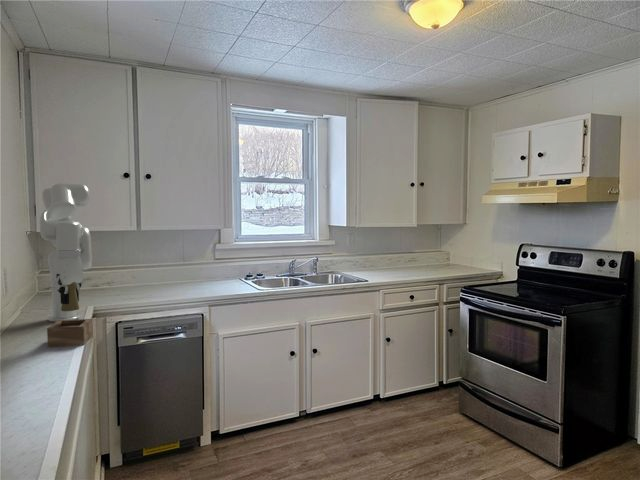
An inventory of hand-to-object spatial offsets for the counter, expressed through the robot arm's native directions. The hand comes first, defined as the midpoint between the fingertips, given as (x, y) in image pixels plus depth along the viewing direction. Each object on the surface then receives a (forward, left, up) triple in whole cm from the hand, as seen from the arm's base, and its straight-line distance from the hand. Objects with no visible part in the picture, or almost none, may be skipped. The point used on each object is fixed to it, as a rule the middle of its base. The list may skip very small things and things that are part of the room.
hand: (69, 302), depth 165 cm
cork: (0, 0, -3) cm, 3 cm away
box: (0, 0, -15) cm, 15 cm away
